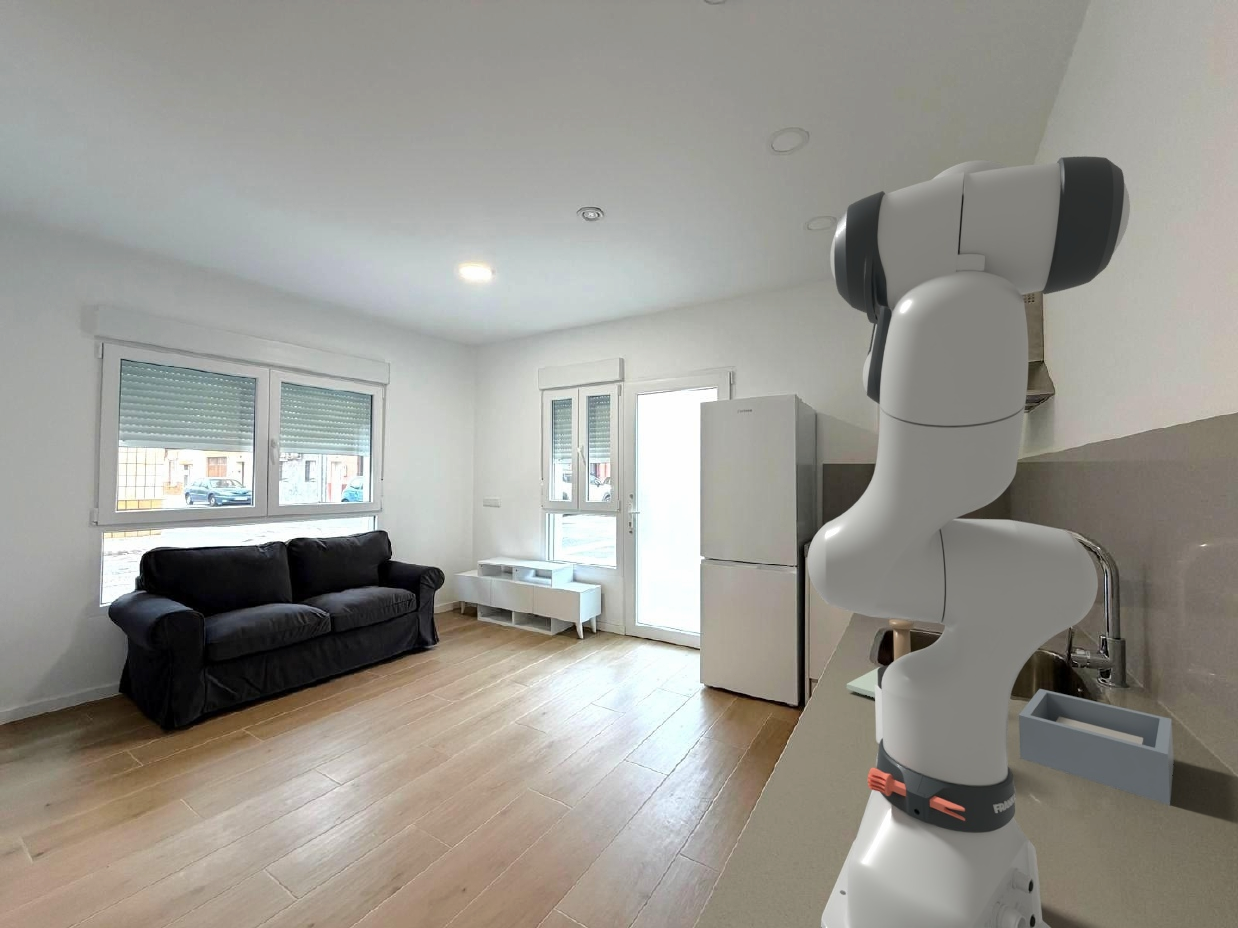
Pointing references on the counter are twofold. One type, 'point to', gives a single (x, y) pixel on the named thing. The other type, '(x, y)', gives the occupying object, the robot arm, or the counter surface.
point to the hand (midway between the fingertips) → (956, 506)
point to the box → (1099, 743)
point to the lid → (901, 648)
